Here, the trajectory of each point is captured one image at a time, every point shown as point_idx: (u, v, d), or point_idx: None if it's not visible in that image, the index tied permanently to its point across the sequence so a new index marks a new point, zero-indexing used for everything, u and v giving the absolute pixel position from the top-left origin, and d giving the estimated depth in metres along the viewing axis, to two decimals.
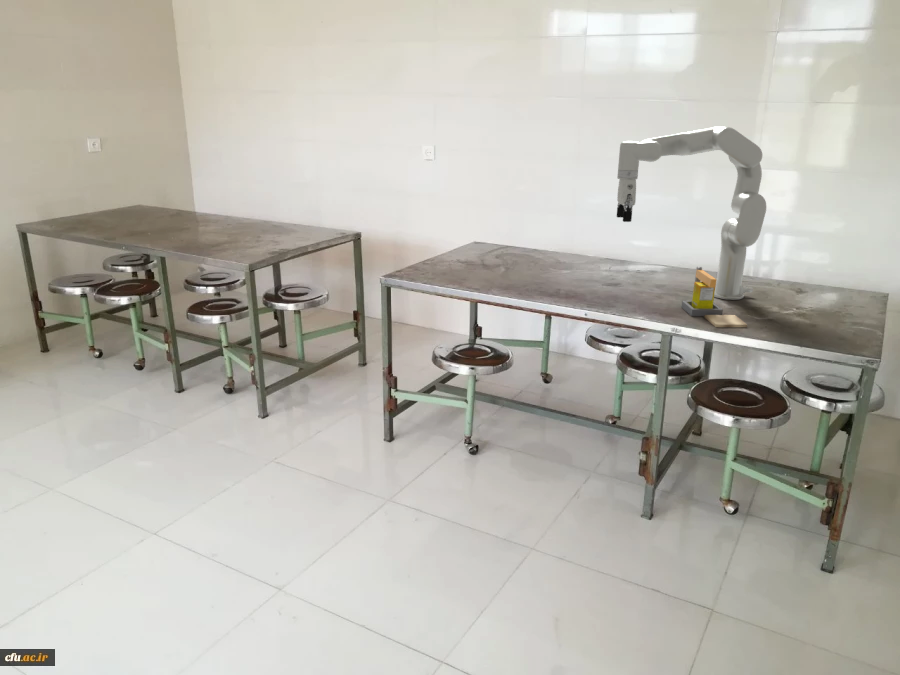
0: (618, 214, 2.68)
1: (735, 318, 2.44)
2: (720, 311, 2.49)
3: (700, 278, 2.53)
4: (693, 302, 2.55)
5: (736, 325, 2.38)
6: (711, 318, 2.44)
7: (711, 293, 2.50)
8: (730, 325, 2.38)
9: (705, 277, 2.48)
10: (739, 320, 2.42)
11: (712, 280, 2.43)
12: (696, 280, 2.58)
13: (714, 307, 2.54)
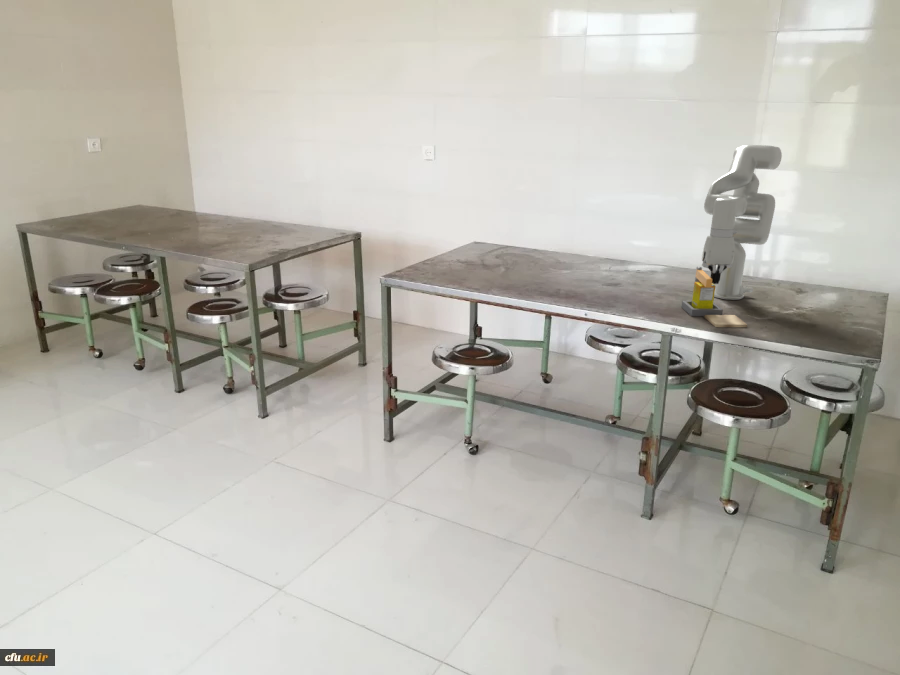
0: None
1: (735, 318, 2.44)
2: (720, 311, 2.49)
3: (699, 278, 2.54)
4: (693, 302, 2.55)
5: (736, 325, 2.38)
6: (711, 318, 2.44)
7: (711, 293, 2.50)
8: (730, 325, 2.38)
9: (702, 277, 2.49)
10: (739, 320, 2.42)
11: (708, 280, 2.44)
12: (696, 280, 2.58)
13: (714, 307, 2.54)
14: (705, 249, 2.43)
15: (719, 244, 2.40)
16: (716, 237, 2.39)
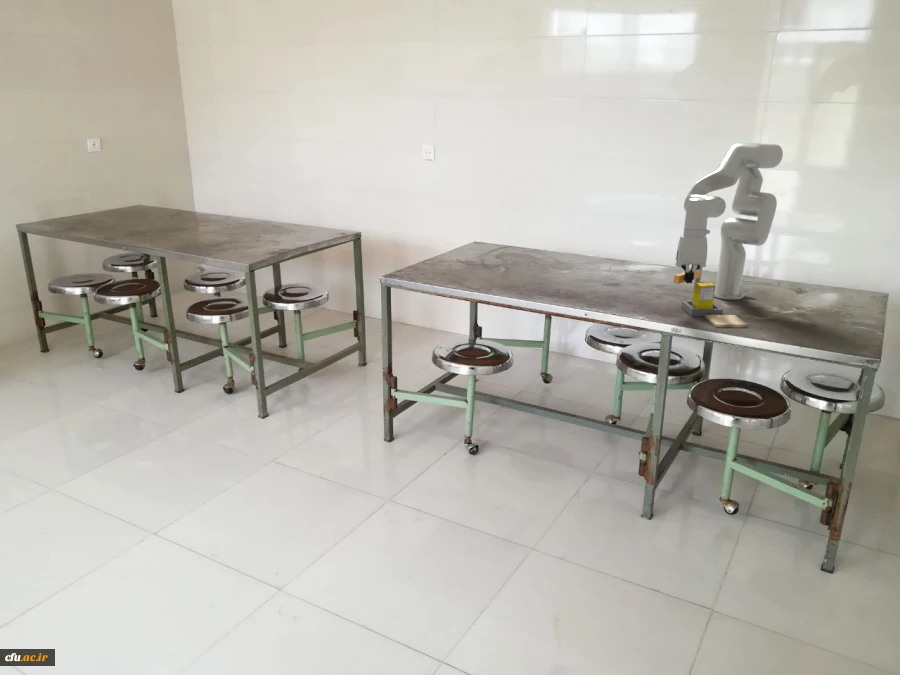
0: None
1: (735, 318, 2.44)
2: (720, 311, 2.49)
3: None
4: (693, 302, 2.55)
5: (736, 325, 2.38)
6: (711, 318, 2.44)
7: (711, 293, 2.50)
8: (730, 325, 2.38)
9: None
10: (739, 320, 2.42)
11: (675, 276, 2.49)
12: (695, 279, 2.59)
13: (714, 307, 2.54)
14: (678, 249, 2.45)
15: (691, 244, 2.42)
16: (688, 237, 2.41)
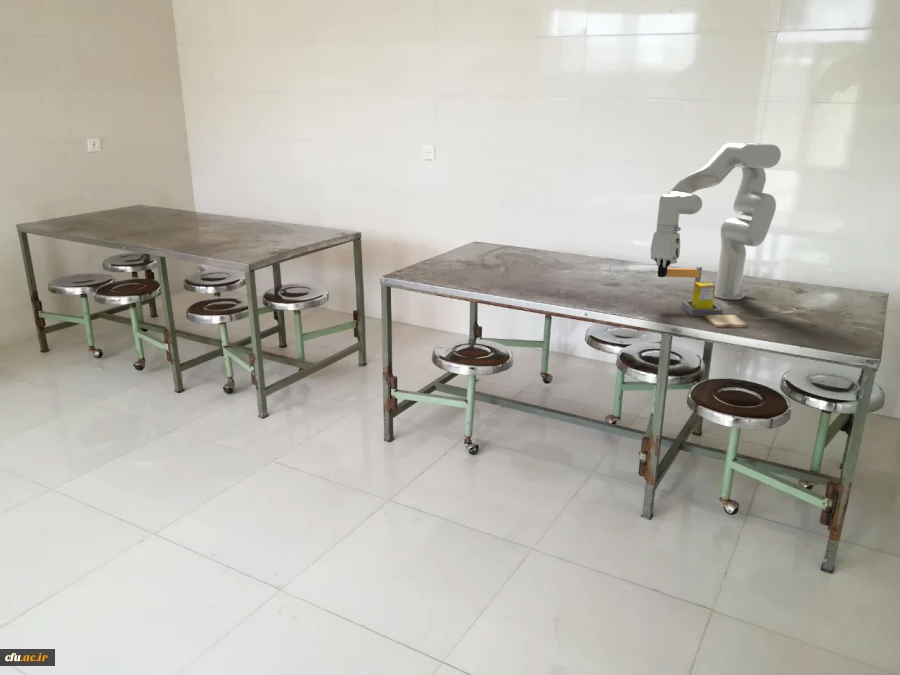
0: None
1: (735, 318, 2.44)
2: (720, 311, 2.49)
3: None
4: (693, 302, 2.55)
5: (736, 325, 2.38)
6: (711, 318, 2.44)
7: (711, 293, 2.50)
8: (730, 325, 2.38)
9: None
10: (739, 320, 2.42)
11: None
12: None
13: (714, 307, 2.54)
14: None
15: (659, 238, 2.51)
16: (656, 231, 2.51)
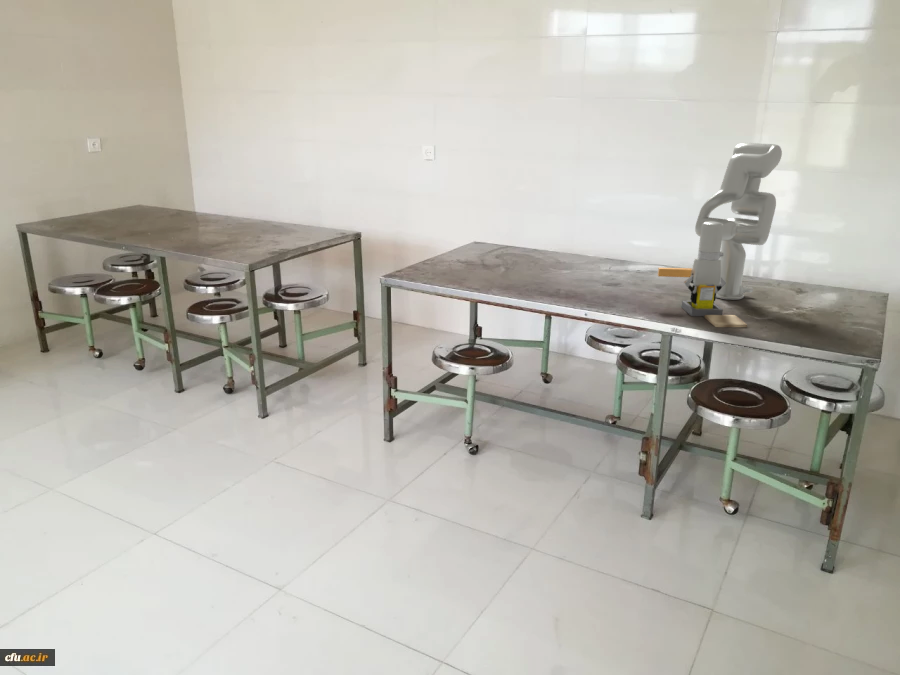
0: None
1: (735, 318, 2.44)
2: (720, 311, 2.49)
3: None
4: None
5: (736, 325, 2.38)
6: (711, 318, 2.44)
7: (711, 293, 2.50)
8: (730, 325, 2.38)
9: None
10: (739, 320, 2.42)
11: (658, 269, 2.60)
12: None
13: (714, 307, 2.54)
14: (693, 271, 2.50)
15: (706, 266, 2.47)
16: (703, 260, 2.46)
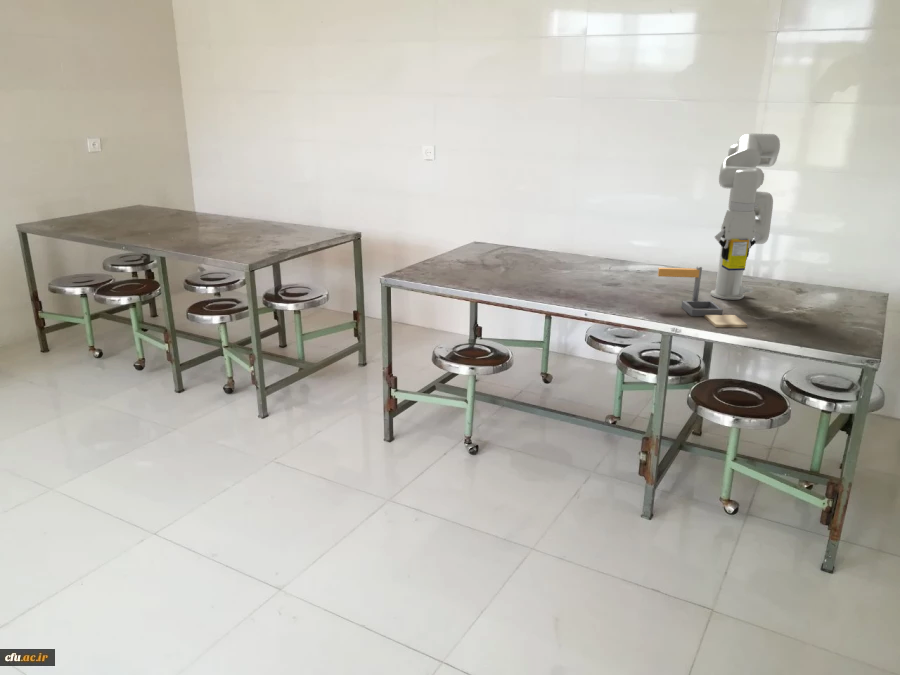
0: None
1: (735, 318, 2.44)
2: (720, 311, 2.49)
3: None
4: None
5: (736, 325, 2.38)
6: (711, 318, 2.44)
7: (745, 247, 2.31)
8: (730, 325, 2.38)
9: None
10: (739, 320, 2.42)
11: (658, 269, 2.60)
12: None
13: (714, 307, 2.54)
14: (724, 224, 2.31)
15: (739, 218, 2.28)
16: (736, 211, 2.27)
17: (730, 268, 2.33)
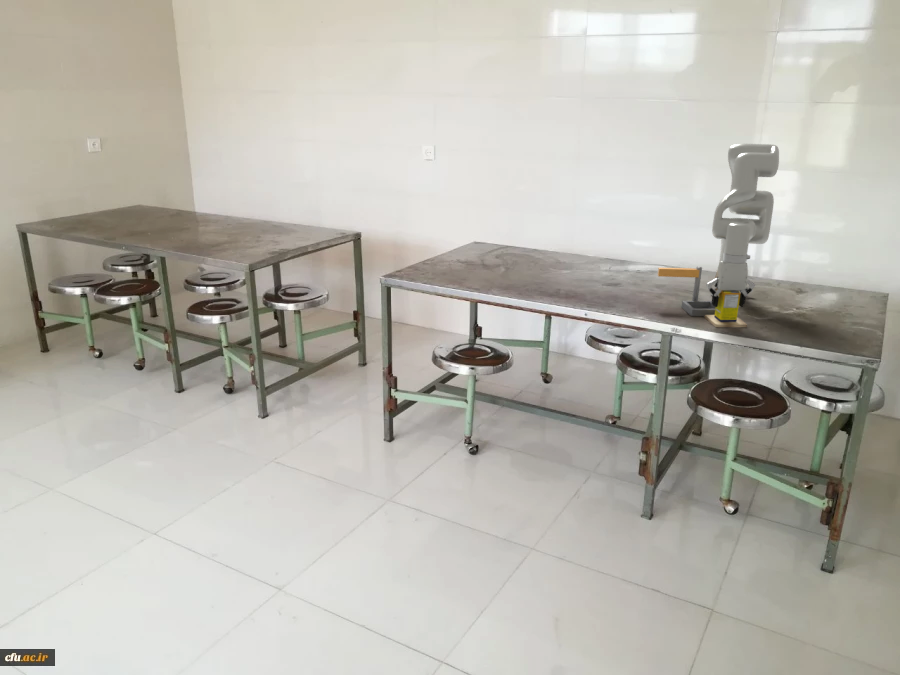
0: None
1: None
2: None
3: None
4: (716, 309, 2.43)
5: (736, 325, 2.38)
6: (711, 318, 2.44)
7: (736, 300, 2.37)
8: (730, 325, 2.38)
9: None
10: (739, 320, 2.42)
11: (658, 269, 2.60)
12: None
13: (714, 307, 2.54)
14: (717, 275, 2.37)
15: (732, 270, 2.34)
16: (729, 263, 2.33)
17: (722, 319, 2.40)
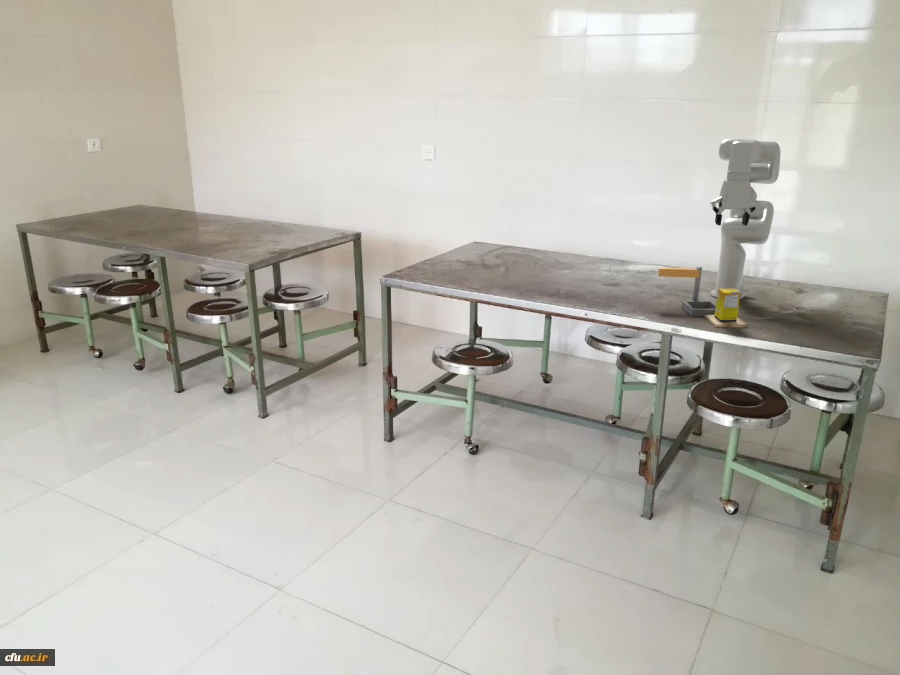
0: None
1: None
2: None
3: None
4: (716, 309, 2.43)
5: (736, 325, 2.38)
6: (711, 318, 2.44)
7: (736, 300, 2.37)
8: (730, 325, 2.38)
9: None
10: (739, 320, 2.42)
11: (658, 269, 2.60)
12: None
13: (714, 307, 2.54)
14: (721, 193, 2.43)
15: (736, 188, 2.40)
16: (733, 181, 2.39)
17: (722, 319, 2.40)
